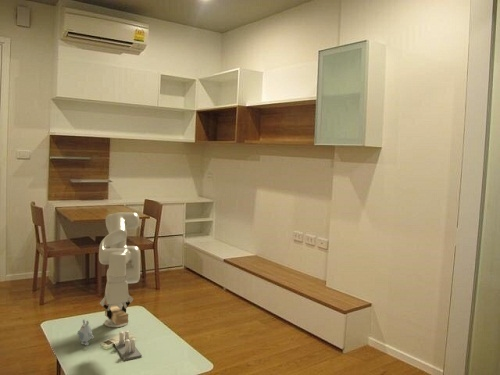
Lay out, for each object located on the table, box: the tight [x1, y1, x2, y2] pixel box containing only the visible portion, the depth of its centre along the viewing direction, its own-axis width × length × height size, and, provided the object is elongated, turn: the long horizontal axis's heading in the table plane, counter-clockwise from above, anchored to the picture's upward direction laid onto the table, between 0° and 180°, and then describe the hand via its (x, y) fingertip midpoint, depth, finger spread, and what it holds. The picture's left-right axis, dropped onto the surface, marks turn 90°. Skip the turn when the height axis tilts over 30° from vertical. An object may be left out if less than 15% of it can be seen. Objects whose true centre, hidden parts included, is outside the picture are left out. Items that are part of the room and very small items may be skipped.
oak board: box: [104, 305, 129, 325], centre depth 203 cm, size 14×5×4 cm, turn 41°
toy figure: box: [76, 319, 94, 346], centre depth 211 cm, size 11×6×12 cm, turn 63°
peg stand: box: [114, 330, 143, 362], centre depth 207 cm, size 20×8×7 cm, turn 31°
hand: (116, 316), depth 203 cm, fingers closed on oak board, 5 cm apart
